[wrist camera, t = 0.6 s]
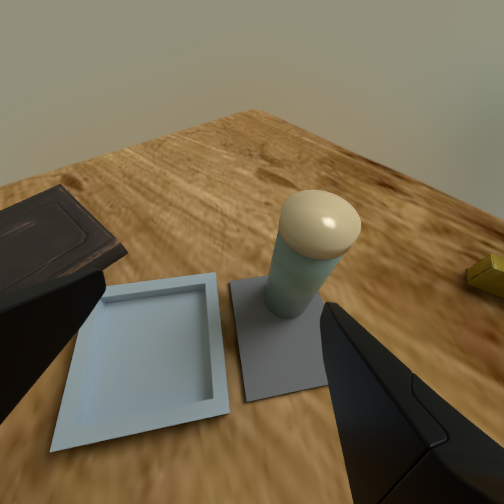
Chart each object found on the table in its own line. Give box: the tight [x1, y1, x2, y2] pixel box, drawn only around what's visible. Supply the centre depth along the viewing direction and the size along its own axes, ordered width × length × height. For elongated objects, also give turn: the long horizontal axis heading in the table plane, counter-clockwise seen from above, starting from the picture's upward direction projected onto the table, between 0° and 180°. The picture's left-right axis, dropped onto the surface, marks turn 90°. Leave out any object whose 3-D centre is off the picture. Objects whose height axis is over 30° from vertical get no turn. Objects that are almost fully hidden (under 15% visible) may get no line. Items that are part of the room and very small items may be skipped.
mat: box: [230, 276, 328, 402], centre depth 24 cm, size 12×10×1 cm
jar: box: [264, 190, 361, 319], centre depth 20 cm, size 5×5×13 cm
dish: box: [50, 272, 230, 452], centre depth 22 cm, size 13×13×2 cm
